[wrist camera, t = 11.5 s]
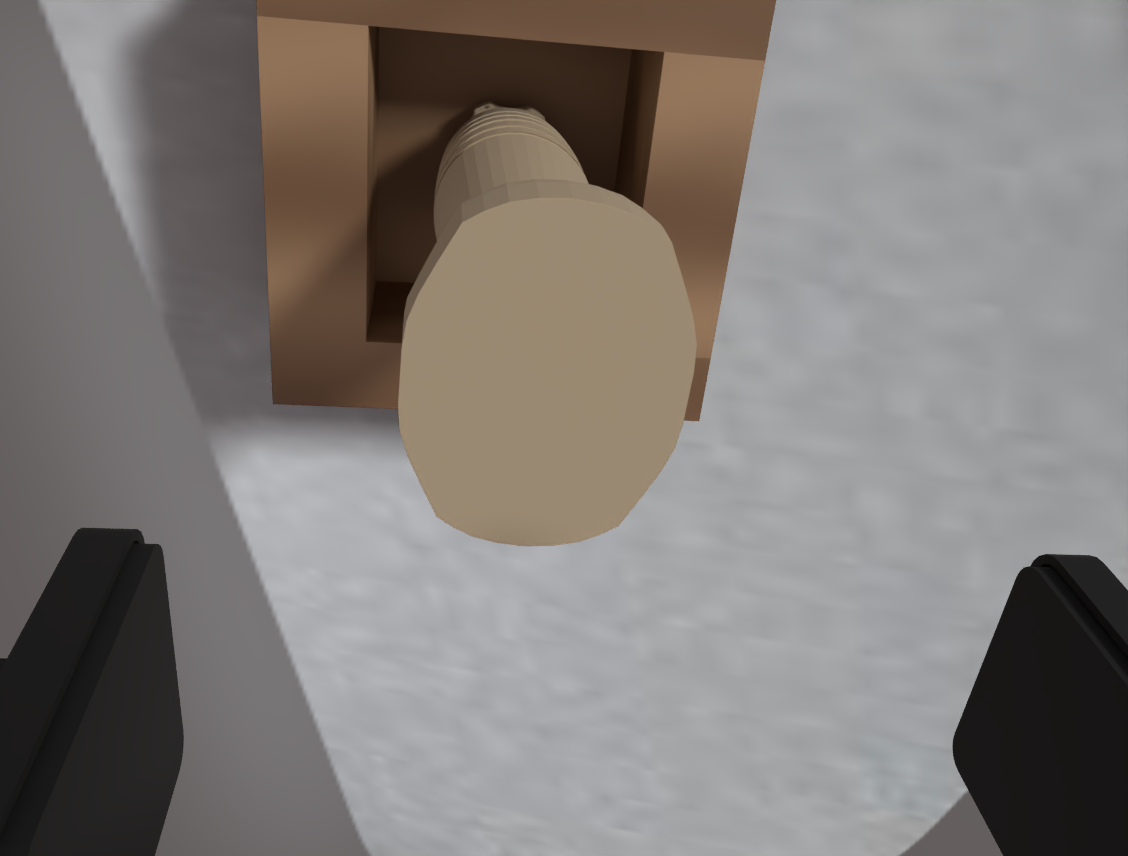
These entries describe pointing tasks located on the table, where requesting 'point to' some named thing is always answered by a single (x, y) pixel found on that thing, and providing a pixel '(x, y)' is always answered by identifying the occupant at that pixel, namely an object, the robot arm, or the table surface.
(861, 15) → the table surface
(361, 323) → the block
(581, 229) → the handle
